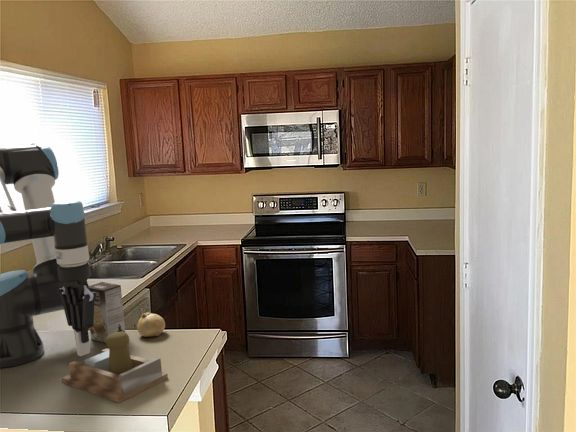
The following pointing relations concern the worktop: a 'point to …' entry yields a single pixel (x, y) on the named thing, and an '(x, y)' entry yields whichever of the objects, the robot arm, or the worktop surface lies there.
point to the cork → (118, 353)
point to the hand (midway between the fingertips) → (83, 353)
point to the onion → (150, 325)
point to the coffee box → (107, 311)
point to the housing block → (99, 361)
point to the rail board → (116, 378)
